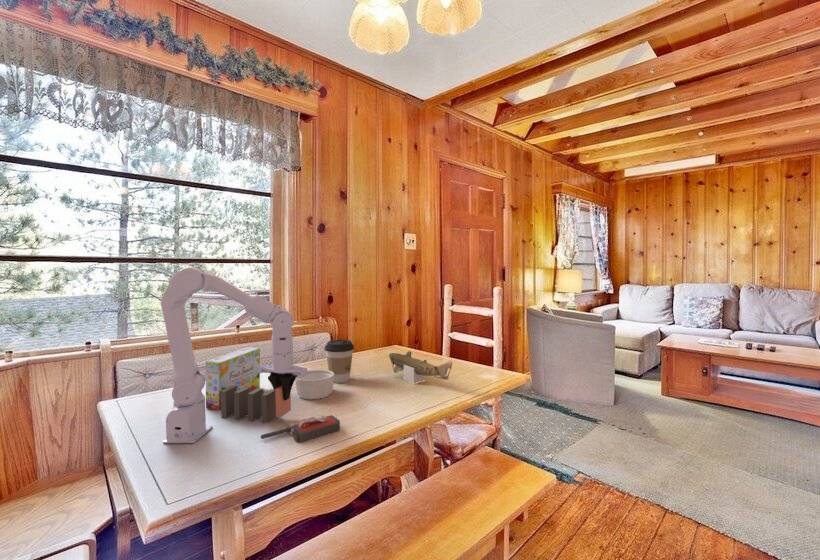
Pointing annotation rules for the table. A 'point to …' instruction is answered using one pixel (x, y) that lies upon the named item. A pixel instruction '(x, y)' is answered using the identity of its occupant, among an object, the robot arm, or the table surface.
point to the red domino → (281, 402)
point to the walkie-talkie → (309, 428)
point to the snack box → (231, 374)
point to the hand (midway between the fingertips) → (283, 398)
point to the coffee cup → (339, 359)
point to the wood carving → (417, 368)
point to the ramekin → (315, 384)
